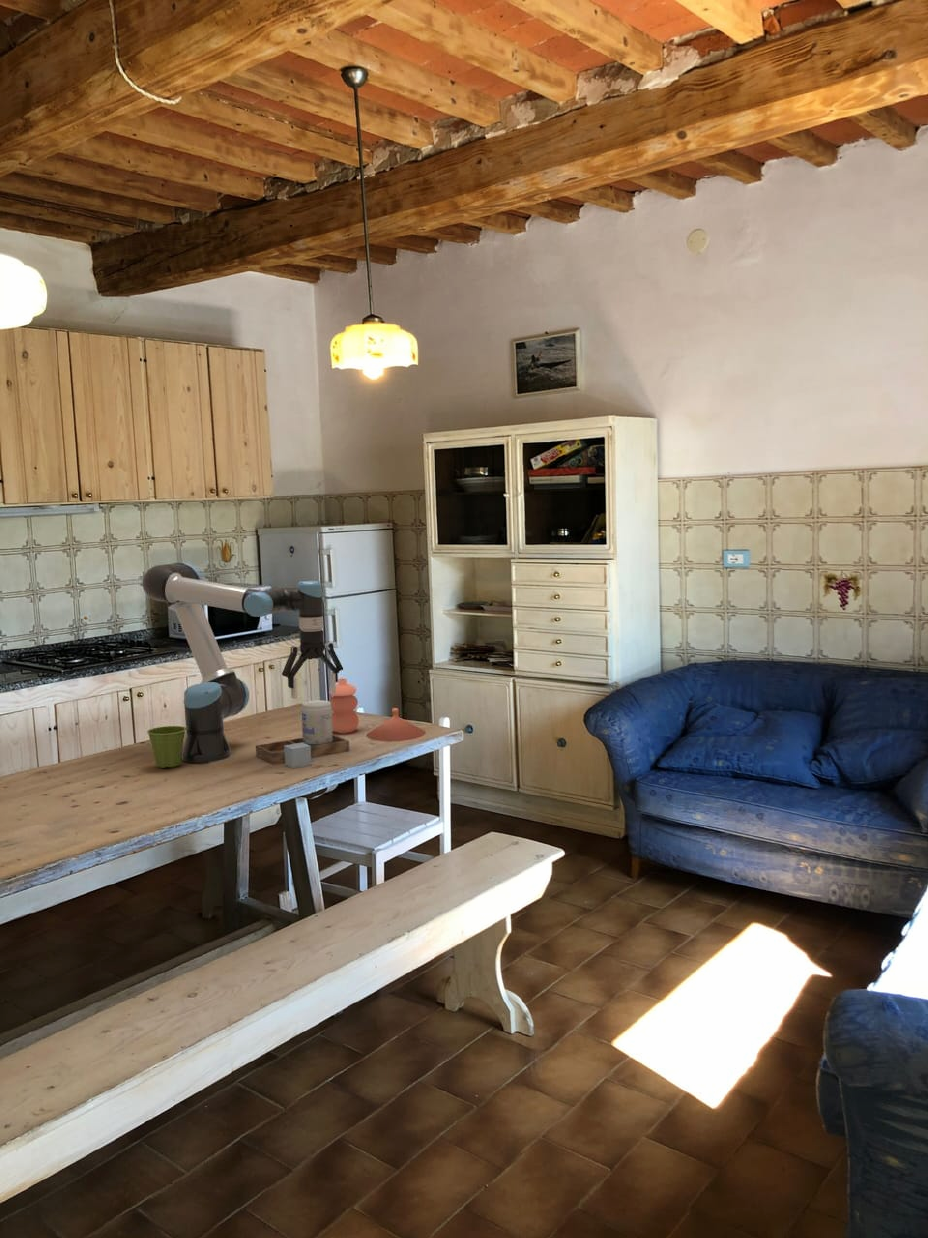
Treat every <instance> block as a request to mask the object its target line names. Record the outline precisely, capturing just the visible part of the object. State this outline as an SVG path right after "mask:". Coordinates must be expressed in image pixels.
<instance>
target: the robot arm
mask: <svg viewBox="0 0 928 1238" xmlns="http://www.w3.org/2000/svg"><path fill="white" fill-rule="evenodd" d="M322 587H323V586H322V583H321V582H320V581H318V580H310V581H309V580H307V581H306V580H305V581H299V582H298V583H297V587H279V586H273V587H267V588H265V589H264V590H259V589H253V588H248V587H241V586H236V585H230V584H224V583H219V582H218V583H217V582H215V581H214V582H212V581H208V580H203V579H202V575H201V573H200V571H199V570H198V569H197V568H196V567H195V566H194V565H192V564H190V563H187V562H173V563H165V564H158V565H154V566H152V567H150V568H148V569H147V570H146V572H145V573H144V575H143V577H142V588H143V589H142V590H143V591H144V593H145V595H147V596H148V597H149V598H150V599H152V600H154V601H156V602H157V601H158V602H165V603H166V605H167V607H168V609H169V610H171V611H173V612H175V615H176V617H177V619H178V622H179V624H180V627H181V628H182V631H183V633H184V636H185V639H186V641H187V644H188V646H189V649H190V650H191V651H190V652H191V653H192V655H193V658H194V660H195V663H196V665H197V668H198V669H199V672H200V674H201V677H202V679H201V682H200V683H195V684H193V685H190V686H188V687H187V688H186V689H185V690H184V693H183V704H184V706H183V707H184V719H185V720H184V721H185V728H186V731H185V733H186V735H185V736H186V737H185V740H184V743H183V744H184V745H183V746H182V754H181V761H183V762H185V763H190V764H208V763H213V762H218V761H222V760H225V759H228V758H230V757H231V755H232V751H231V747H230V744H229V742H228V739H227V736H226V734H225V730H224V727H225V726H224V720H225V719H227V718H229V717H232V716H233V717H234V716H236V715H238V714H239V713H241V712H242V711H243V710H245V708H247V706H248V703H249V701H250V692H249V691H250V690H249V687H248V686H247V684H246V682H244V681H243V680H241V679H240V678H237V675H236V673H235V671H234V670H233V669H230V668H228V665H227V664H226V661H225V658H224V655H223V654H222V651H221V649H220V647H219V644H218V641H217V639H216V637H215V635H214V632H213V630H212V627H211V625H210V623H209V621H208V618H207V615H206V613H205V610H204V608H203V606H207V607H214V608H217V609H219V608H220V609H225V610H230V611H235V612H241V613H247V614H248V615H250V616H251V617H256V618H257V617H258V618H259V617H265V616H267V615H272V614H277V613H280V612H298V622H299V629H300V631H299V644H300V645H299V646H294V645H292V646H290V654H289V656H288V658H287V660H286V664H285V665H284V668H283V670H282V673H281V675H282V677H286V678H287V683H288V684H287V685H288V688H289V689H290V694H291V695H290V697H291V698H293V699H298V691H297V678H296V677H295V676H296V674H297V673H298V672H299V670H300V669H301V668H302V667H303V664H305V662H306V661H307V660H313V659H316V660H317V659H320V660H321V661H322V662H323V663H324V664H325V665H326V667H328V669H329V670H330V671H331V672H329V690H330V692H331V693H336V685H337V684H338V679H339V676H338V674H339V673H340V672H341V671H344V667H343V665H342V663H341V661H340V659H339V656H338V655H337V653H336V651H335V649H334V643H332V642H327V643H324V641H325V639H324V638H325V637H324V633H325V631H324V630H323V628H324V613H323V610H324V609H323V588H322ZM324 650H326V651H327V652H328V654H329V656H330V658H331V660H332V661H331V660H330V659H329V658H328V657H327V656H326V654H325V653H324ZM299 652H300V655H299V656H298V659H297V660H296V658H297V655H298V654H299ZM295 660H296V661H295Z"/></svg>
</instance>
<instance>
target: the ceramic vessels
mask: <svg viewBox="0 0 928 1238" xmlns="http://www.w3.org/2000/svg"><path fill="white" fill-rule="evenodd" d="M347 680H348V679H347V678H342V677H341V678H338V682H337V683H336V693H331V692H330V689H329V691H328V693H329V694H330V696H331V697H330V699H329V700H328V701H329V702H331V707H332V711H333V712H332V731H334V732H335V733H337V734H340V735H341V734H349V733H352V732H354V731H356V729H357V728H358V726H359V721H360V720H359V717H358V714H357V713H356V712H355V711H354V710H355V709H356V708H357V706H358V702H359V700H358V698H357V697H356V696H355V694H356V691H357V689H356V687H355V686H354V685H353V684H351V683H347ZM391 712H392V713H391V714H392V716H391V718H389V719H388V720H386V721H384V722H383V723H382V724H380V725H379V726H377V727H376V728H374V729H372V730H370V732H368V733H367V734H366V738H367V737H368V738H367V739H369V738H370V739H369V740H371V741H376V742H377V741H378V742H404V741H410V740H415V739H419V738H421V737H423V736H425V735H426V730H424V729H422V728H420V727H418V726H416V725H414V724H413V723H411V722H409V721H408V720H405V719H403V718H401V717H400V716H399V708H398V707H393V708H392V710H391Z"/></svg>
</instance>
